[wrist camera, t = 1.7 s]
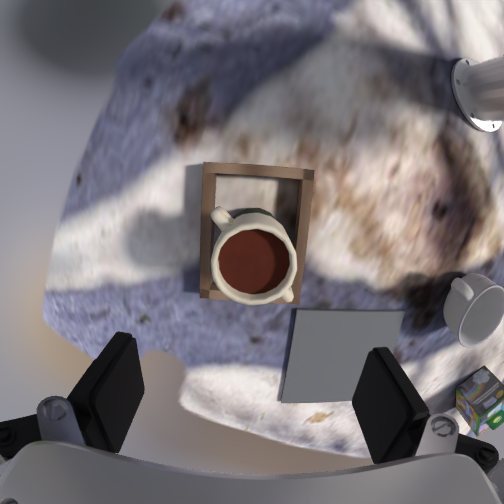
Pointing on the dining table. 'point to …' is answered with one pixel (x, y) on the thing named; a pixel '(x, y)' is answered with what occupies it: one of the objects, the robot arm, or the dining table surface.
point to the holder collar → (207, 224)
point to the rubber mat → (334, 351)
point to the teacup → (473, 308)
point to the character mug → (252, 257)
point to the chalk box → (481, 401)
